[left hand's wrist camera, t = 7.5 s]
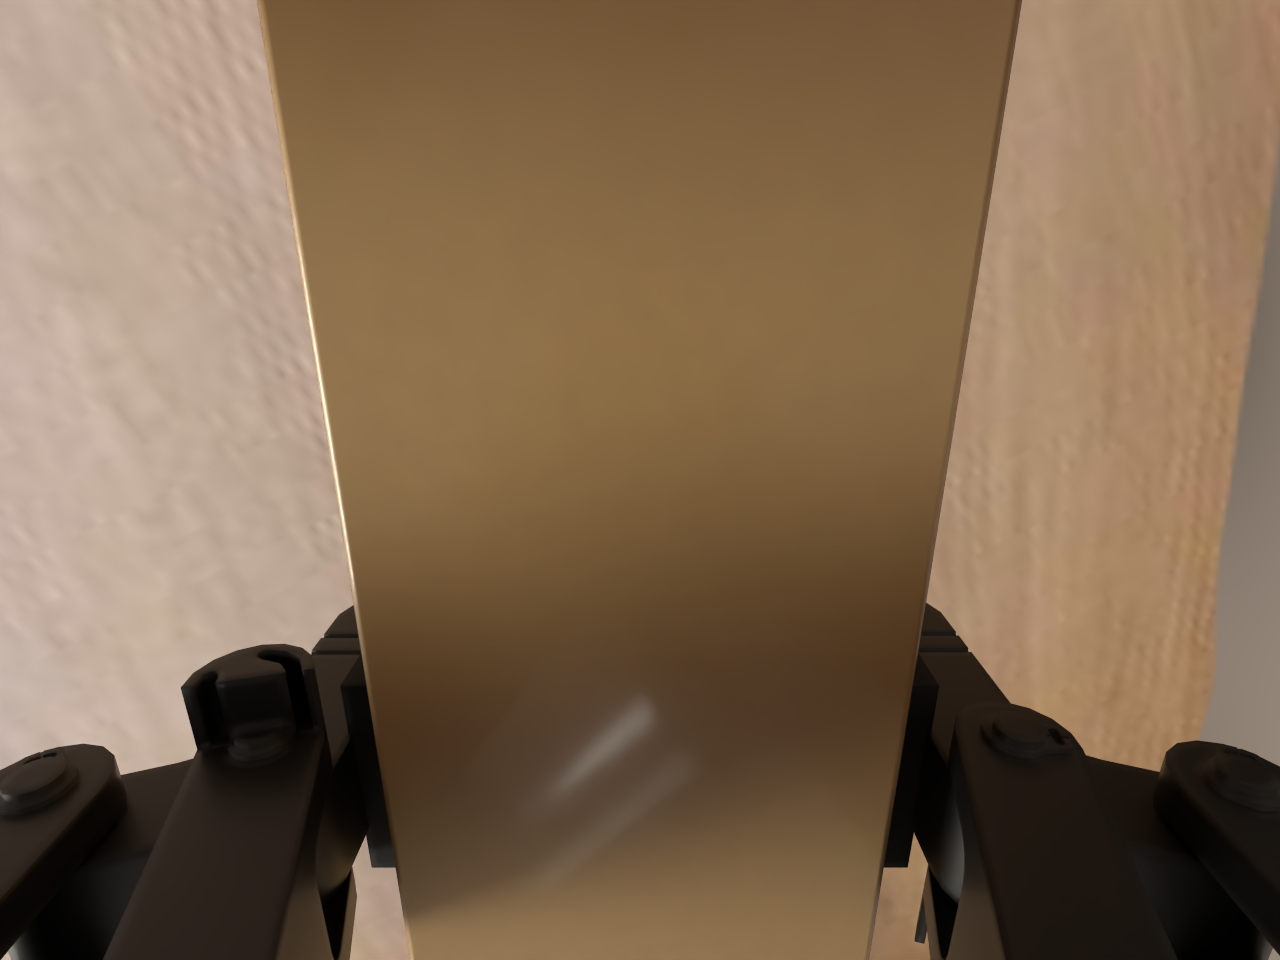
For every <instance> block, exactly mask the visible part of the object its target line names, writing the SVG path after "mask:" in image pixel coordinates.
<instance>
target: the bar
mask: <svg viewBox="0 0 1280 960" xmlns="http://www.w3.org/2000/svg"><path fill="white" fill-rule="evenodd" d="M1021 3H1022V0H257V4H258V10H259V16H260V22H261V29H262V35H263V41H264V47H265V54H266V60H267V66H268V72H269V79H270V85H271V91H272V97H273V104H274V110H275V116H276V122H277V129H278V135H279V141H280V147H281V154H282V160H283V166H284V172H285V179H286V185H287V191H288V197H289V204H290V210H291V216H292V222H293V229H294V235H295V241H296V247H297V254H298V260H299V266H300V272H301V279H302V285H303V291H304V297H305V304H306V310H307V316H308V322H309V329H310V335H311V341H312V347H313V354H314V360H315V366H316V372H317V379H318V385H319V391H320V397H321V404H322V410H323V416H324V422H325V429H326V435H327V441H328V447H329V454H330V460H331V466H332V472H333V479H334V485H335V491H336V497H337V504H338V510H339V516H340V522H341V529H342V535H343V541H344V547H345V554H346V560H347V566H348V572H349V579H350V585H351V591H352V597H353V604H354V610H355V616H356V622H357V629H358V635H359V641H360V647H361V654H362V660H363V666H364V672H365V679H366V685H367V691H368V697H369V704H370V710H371V716H372V722H373V729H374V735H375V741H376V747H377V754H378V760H379V766H380V772H381V779H382V785H383V791H384V797H385V804H386V810H387V816H388V822H389V829H390V835H391V841H392V847H393V854H394V860H395V866H396V872H397V879H398V885H399V891H400V897H401V904H402V910H403V916H404V922H405V929H406V935H407V941H408V947H409V954H410V960H869V956H870V949H871V943H872V937H873V931H874V924H875V918H876V912H877V905H878V899H879V893H880V887H881V880H882V874H883V868H884V862H885V855H886V849H887V843H888V837H889V830H890V824H891V818H892V812H893V805H894V799H895V793H896V786H897V780H898V774H899V768H900V761H901V755H902V749H903V743H904V736H905V730H906V724H907V718H908V711H909V705H910V699H911V692H912V686H913V680H914V674H915V667H916V661H917V655H918V649H919V642H920V636H921V630H922V624H923V617H924V611H925V605H926V599H927V592H928V586H929V580H930V573H931V567H932V561H933V555H934V548H935V542H936V536H937V530H938V523H939V517H940V511H941V505H942V498H943V492H944V486H945V480H946V473H947V467H948V461H949V454H950V448H951V442H952V436H953V429H954V423H955V417H956V411H957V404H958V398H959V392H960V386H961V379H962V373H963V367H964V360H965V354H966V348H967V342H968V335H969V329H970V323H971V317H972V310H973V304H974V298H975V292H976V285H977V279H978V273H979V267H980V260H981V254H982V248H983V241H984V235H985V229H986V223H987V216H988V210H989V204H990V198H991V191H992V185H993V179H994V173H995V166H996V160H997V154H998V148H999V141H1000V135H1001V129H1002V122H1003V116H1004V110H1005V104H1006V97H1007V91H1008V85H1009V79H1010V72H1011V66H1012V60H1013V54H1014V47H1015V41H1016V35H1017V29H1018V22H1019V16H1020V10H1021Z"/></svg>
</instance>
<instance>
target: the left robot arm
mask: <svg viewBox="0 0 1280 960" xmlns="http://www.w3.org/2000/svg"><path fill="white" fill-rule="evenodd" d="M181 690H182V694H183V698H184V702H185V705H186V709H187V713H188V716H189V720H190V724H191V728H192V731H193V735H194V739H195V742H196V746H197V752H196V754H195V756H194V759H190V760H187V761H183V762H180V763H175V764H171V765H166V766H162V767H157V768H152V769H148V770H143V771H138V772H134V773H129V774H124V775H120V772H119V769H118V766H117V763H116V760H115V756H114V755H113V754H112V753H111V752H109V751H108V750H107V749H106V748H105V747H103V746H96V745H89V744H78V745H71V746H63V747H57V748H53V749H49V750H45V751H44V752H41V753H40V752H39V753H36V754H33V755H30V756H28V757H25V758H23V759H22V760H20V761H18V762H16V763H14V764H12V765H10V766H8V767H6V768H4V769H2V770H0V960H1V959H2V958H3V956H4V955H5V954H6V953H7V952H8V953H9V955H10V957H11V960H350V951H351V943H352V934H353V926H354V917H355V908H356V900H357V893H356V886H355V879H354V874H353V868H352V865H353V863H354V860H355V858H356V856H357V854H358V851H359V849H360V847H361V845H362V842H363V840H364V838H365V836H366V837H367V842H368V848H369V854H370V859H371V865H372V867H396V866H395V860H394V854H393V847H392V841H391V835H390V829H389V822H388V816H387V810H386V804H385V797H384V791H383V785H382V779H381V772H380V766H379V760H378V754H377V747H376V741H375V735H374V729H373V722H372V716H371V710H370V704H369V697H368V691H367V685H366V679H365V672H364V666H363V660H362V654H361V647H360V641H359V635H358V629H357V622H356V616H355V610H354V605H353V606H352V607H350V608H348V609H347V610H345V611H344V612H342V613H341V614H339V616H338V617H337V618H336V619H335V621H334V622H333V623H332V625H331V626H330V627H329V629H328V630H327V631H326V633H325V634H324V638H321V639H320V640H319V642H318V643H317V644H316V646H315V647H314V648H313V650H312V654H311V655H310V654H309V653H308V652H307V651H305V650H304V649H303V648H300V647H296V646H291V645H287V644H271V645H259V646H255V647H250V648H246V649H241V650H237V651H235V652H232V653H230V654H227V655H225V656H222V657H220V658H218V659H215V660H213V661H211V662H210V663H208V664H207V665H205V666H204V667H202V668H201V669H199V670H197V671H196V672H194V673H193V674H192V675H191V676H190V678H189V679H188V680H187V681H186V682H185V683H184V684H183V686H182V687H181ZM914 833H915V835H916V838H917V840H918V842H919V844H920V847H921V849H922V851H923V853H924V856H925V858H926V860H927V862H928V868H927V874H926V879H925V884H924V889H923V895H922V900H921V905H920V911H919V916H918V921H917V927H916V934H915V942H919V943H924V942H925V937H926V932H928V941H929V949H930V958H931V960H1268V958H1269V956H1270V953H1271V951H1272V949H1273V948H1274V949H1275V950H1276V952H1277V953H1278V954H1279V955H1280V767H1279V766H1277V765H1275V764H1273V763H1271V762H1269V761H1267V760H1265V759H1263V758H1261V757H1259V756H1258V755H1256V754H1254V753H1251V752H1248V751H1246V750H1243V749H1237V748H1236V747H1232V746H1228V745H1225V744H1219V743H1212V742H1204V741H1190V742H1182V743H1177V744H1176V745H1174V746H1173V747H1172V748H1171V749H1169V750H1168V751H1167V752H1166V754H1165V758H1164V761H1163V764H1162V767H1161V770H1160V772H1156V771H1152V770H1147V769H1142V768H1138V767H1133V766H1128V765H1124V764H1119V763H1114V762H1110V761H1105V760H1101V759H1097V758H1094V757H1090V756H1086V755H1085V753H1084V751H1083V749H1082V747H1081V746H1080V745H1079V743H1078V742H1077V741H1076V739H1075V738H1074V736H1073V735H1072V734H1071V733H1070V732H1069V731H1067V730H1066V729H1065V728H1063V727H1062V726H1061V725H1059V724H1058V723H1057V722H1055V721H1054V720H1053V719H1051V718H1049V717H1047V716H1045V715H1043V714H1040V713H1038V712H1036V711H1034V710H1032V709H1030V708H1026V707H1022V706H1018V705H1015V704H1011V703H1010V702H1009V701H1008V699H1007V698H1006V697H1005V695H1004V694H1003V693H1002V692H1001V690H1000V689H999V688H998V686H997V685H996V684H995V682H994V681H993V680H992V678H991V677H990V676H989V675H988V673H987V672H986V671H985V669H984V668H983V667H982V665H981V664H980V663H979V662H978V660H977V659H976V658H975V656H974V655H973V654H972V652H968V647H967V646H966V645H965V643H964V642H963V641H962V639H961V638H960V637H959V636H956V632H955V630H954V629H953V628H952V626H951V625H950V624H949V622H948V621H947V620H946V619H945V617H944V616H943V615H942V613H941V612H940V611H938V610H937V609H935V608H933V607H932V606H930V605H929V604H927V603H926V605H925V611H924V617H923V624H922V630H921V636H920V642H919V649H918V655H917V661H916V667H915V674H914V680H913V686H912V692H911V699H910V705H909V711H908V718H907V724H906V730H905V736H904V743H903V749H902V755H901V761H900V768H899V774H898V780H897V786H896V793H895V799H894V805H893V812H892V818H891V824H890V830H889V837H888V843H887V849H886V855H885V862H884V867H908V862H909V857H910V851H911V845H912V839H913V834H914Z"/></svg>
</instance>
